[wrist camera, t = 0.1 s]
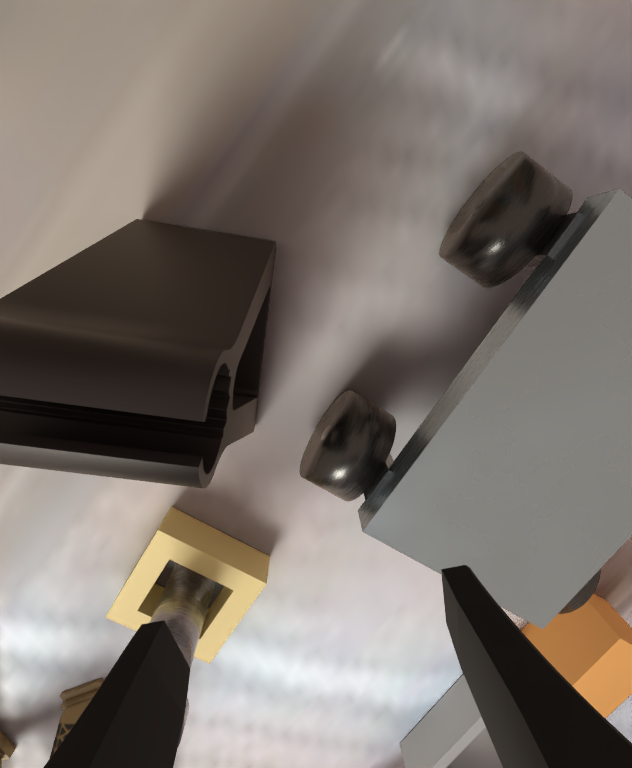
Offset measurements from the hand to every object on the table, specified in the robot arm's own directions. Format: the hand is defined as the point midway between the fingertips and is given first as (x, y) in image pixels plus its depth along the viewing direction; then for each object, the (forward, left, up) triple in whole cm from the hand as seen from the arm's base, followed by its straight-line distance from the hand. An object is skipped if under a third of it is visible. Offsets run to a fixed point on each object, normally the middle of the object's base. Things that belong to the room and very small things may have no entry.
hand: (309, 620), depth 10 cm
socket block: (-9, +1, -10) cm, 14 cm away
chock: (-2, -19, -11) cm, 22 cm away
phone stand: (+3, +7, -11) cm, 13 cm away
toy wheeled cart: (+8, -7, -10) cm, 14 cm away
